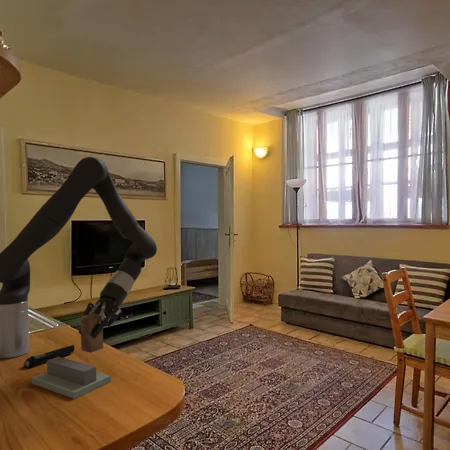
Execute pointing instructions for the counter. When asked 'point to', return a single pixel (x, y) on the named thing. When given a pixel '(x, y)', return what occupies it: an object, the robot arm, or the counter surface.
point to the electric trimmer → (48, 356)
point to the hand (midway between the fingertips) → (86, 335)
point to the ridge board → (69, 385)
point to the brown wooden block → (86, 328)
